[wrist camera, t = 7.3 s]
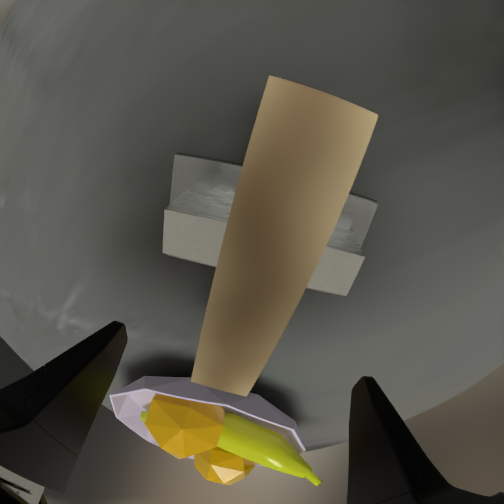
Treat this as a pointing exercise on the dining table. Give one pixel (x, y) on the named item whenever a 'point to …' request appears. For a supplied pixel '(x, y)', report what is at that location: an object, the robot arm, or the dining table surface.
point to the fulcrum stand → (217, 213)
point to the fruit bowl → (212, 428)
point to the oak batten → (278, 226)
